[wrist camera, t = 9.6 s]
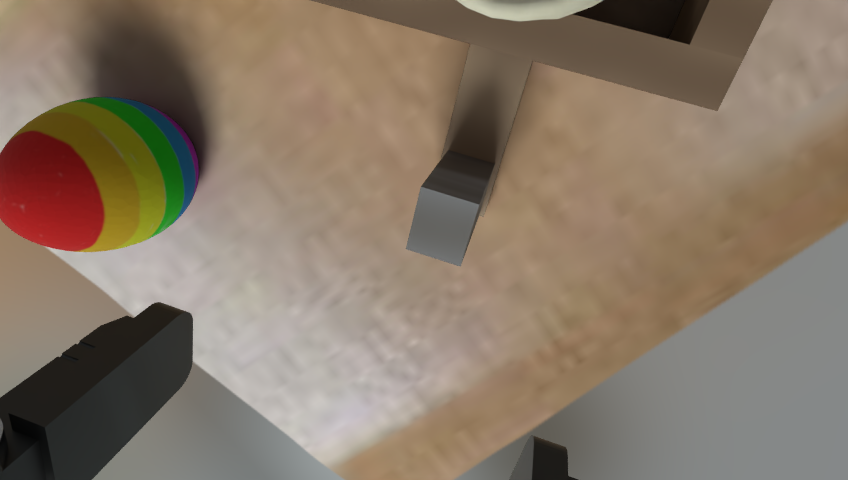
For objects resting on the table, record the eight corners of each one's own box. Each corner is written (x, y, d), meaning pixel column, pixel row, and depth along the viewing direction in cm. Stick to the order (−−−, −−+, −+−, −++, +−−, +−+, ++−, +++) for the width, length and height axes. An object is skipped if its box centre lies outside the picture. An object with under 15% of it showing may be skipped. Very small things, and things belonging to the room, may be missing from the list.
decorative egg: (237, 206, 32) (116, 282, 23) (137, 223, 35) (-6, 297, 26) (186, 74, 29) (25, 105, 20) (81, 103, 32) (-103, 141, 23)
